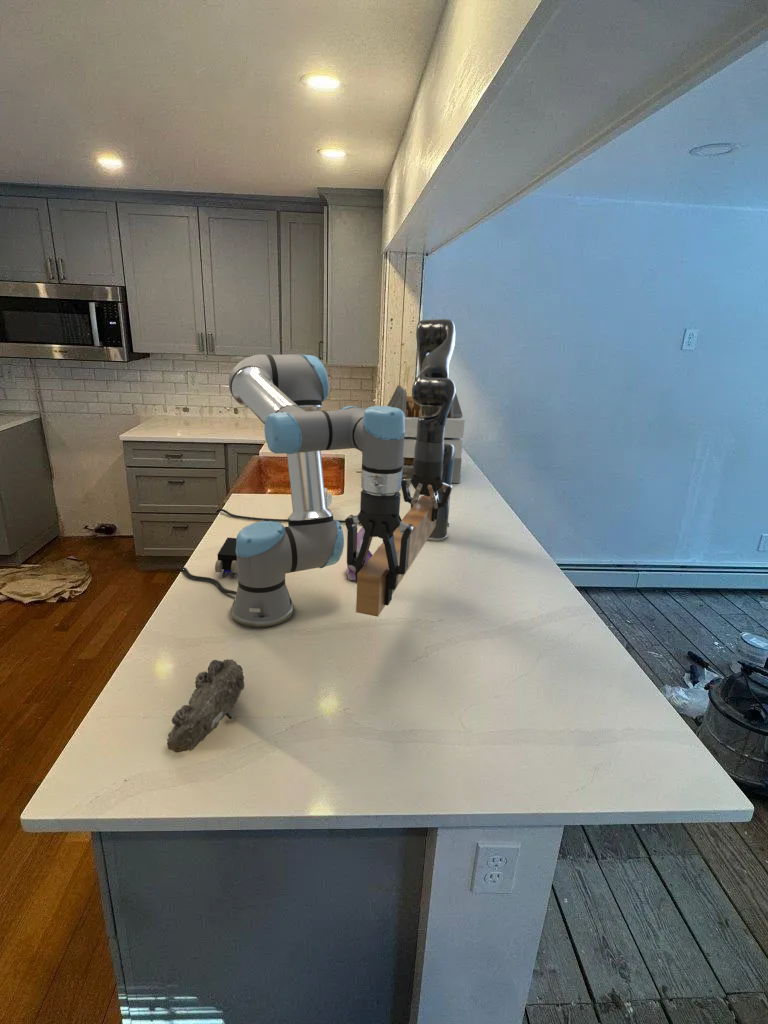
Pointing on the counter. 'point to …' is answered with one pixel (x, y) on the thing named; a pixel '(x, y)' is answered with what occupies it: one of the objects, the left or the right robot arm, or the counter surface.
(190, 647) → the counter surface
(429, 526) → the post
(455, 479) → the grey stacking crate
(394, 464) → the left robot arm
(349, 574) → the figurine
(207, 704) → the fossil
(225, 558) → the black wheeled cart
